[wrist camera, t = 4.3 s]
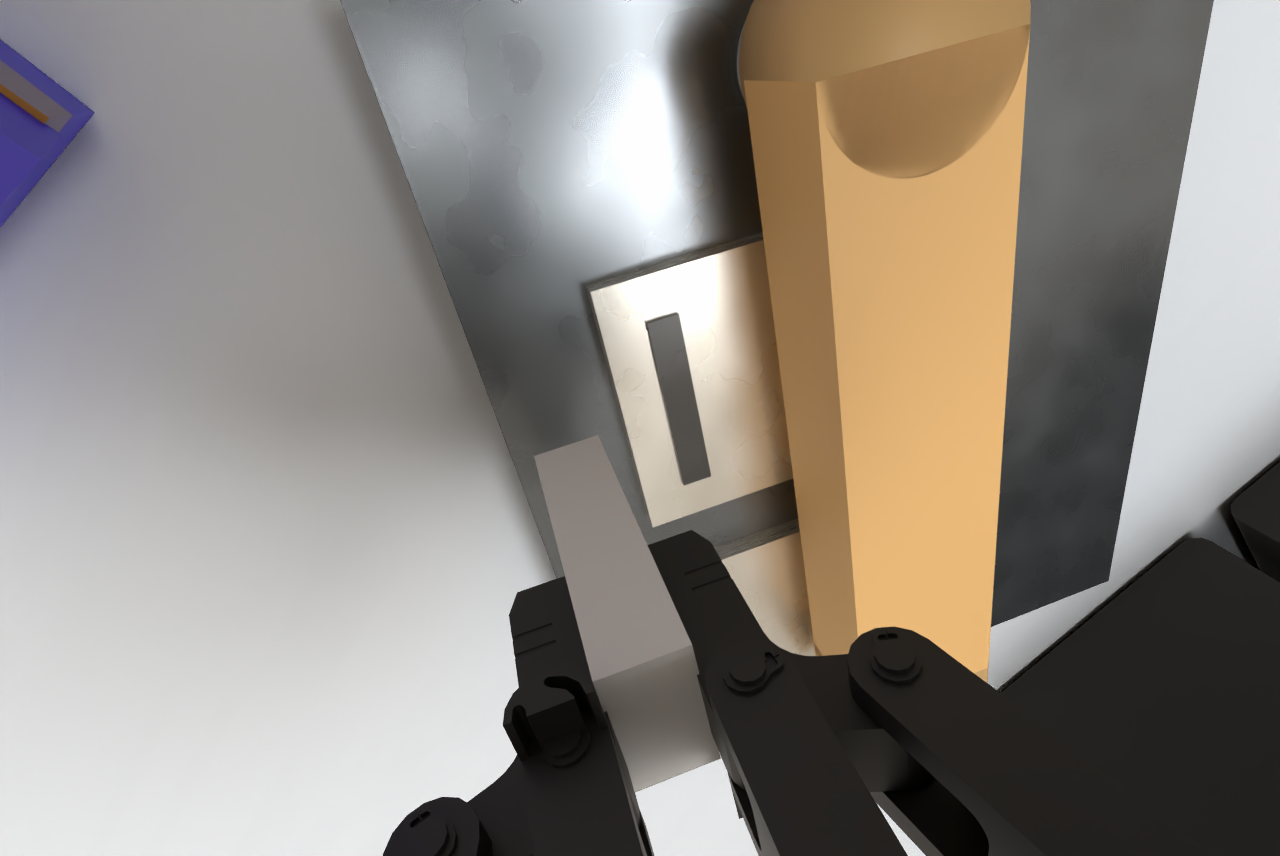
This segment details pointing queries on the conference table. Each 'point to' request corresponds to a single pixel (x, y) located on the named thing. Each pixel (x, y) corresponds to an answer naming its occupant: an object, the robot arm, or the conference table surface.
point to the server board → (737, 270)
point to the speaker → (1183, 685)
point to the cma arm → (892, 296)
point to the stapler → (31, 126)
